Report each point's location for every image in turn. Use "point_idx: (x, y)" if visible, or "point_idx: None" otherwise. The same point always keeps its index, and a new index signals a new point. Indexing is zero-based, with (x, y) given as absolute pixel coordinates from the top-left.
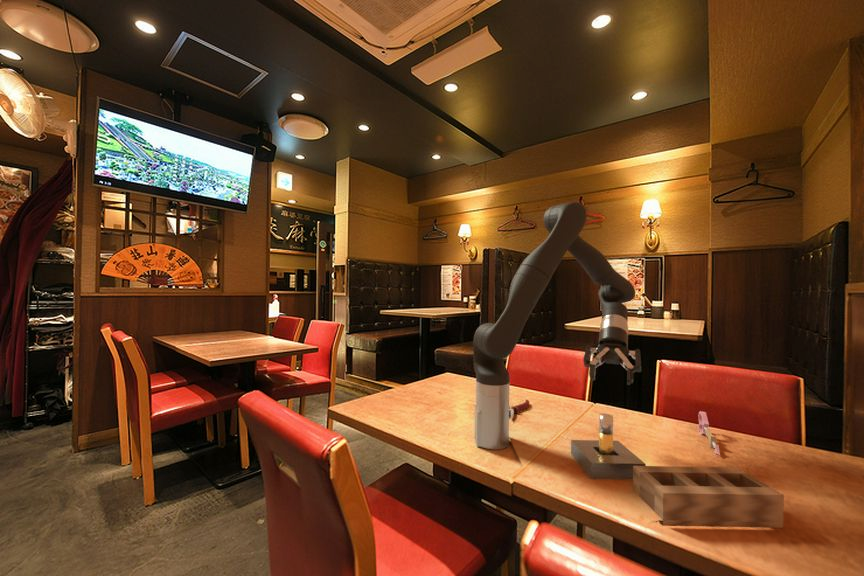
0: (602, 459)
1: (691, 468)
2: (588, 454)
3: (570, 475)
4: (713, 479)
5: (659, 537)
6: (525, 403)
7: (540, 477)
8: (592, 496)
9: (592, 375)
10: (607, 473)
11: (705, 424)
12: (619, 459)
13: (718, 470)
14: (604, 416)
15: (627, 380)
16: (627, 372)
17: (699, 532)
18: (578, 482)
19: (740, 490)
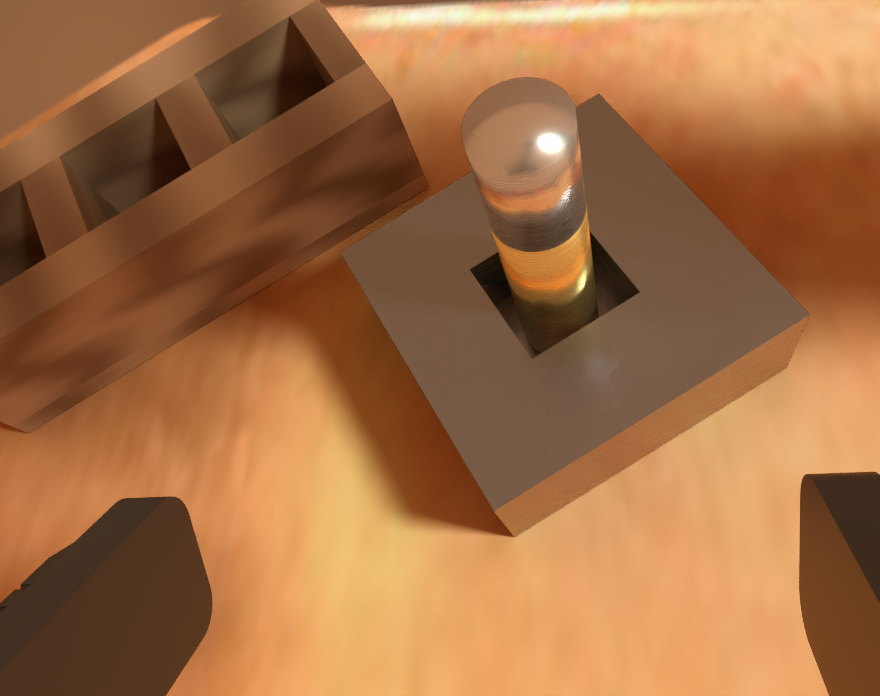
0: None
1: (135, 240)
2: (637, 174)
3: (714, 170)
4: (80, 206)
5: (358, 8)
6: None
7: (839, 67)
8: (578, 75)
9: (852, 473)
10: None
11: None
12: (467, 219)
13: (23, 295)
14: (528, 97)
15: (165, 501)
16: (53, 614)
17: None
18: (659, 135)
19: (20, 159)
